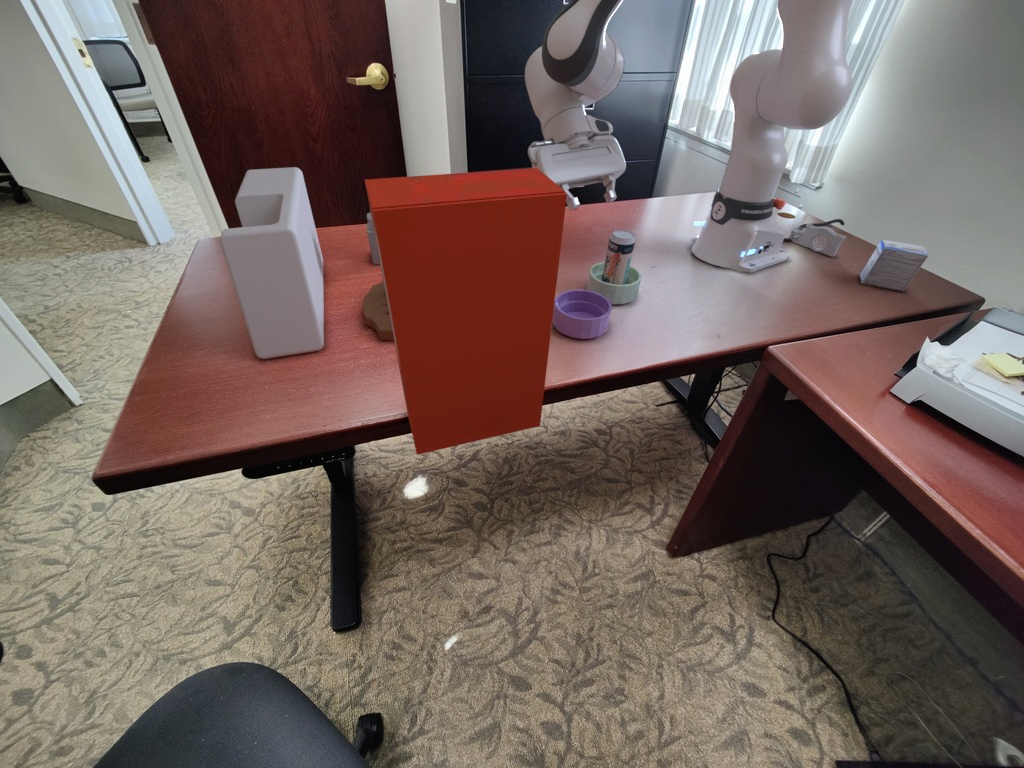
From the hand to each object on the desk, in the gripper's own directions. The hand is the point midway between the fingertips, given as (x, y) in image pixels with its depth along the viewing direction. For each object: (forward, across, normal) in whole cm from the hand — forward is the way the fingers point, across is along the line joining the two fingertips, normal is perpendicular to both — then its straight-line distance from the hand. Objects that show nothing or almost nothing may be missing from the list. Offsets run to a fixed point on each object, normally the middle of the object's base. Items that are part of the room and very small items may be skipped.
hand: (593, 204), depth 85 cm
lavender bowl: (+21, -13, 0) cm, 25 cm away
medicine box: (+36, +55, -15) cm, 68 cm away
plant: (+8, -37, +14) cm, 40 cm away
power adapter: (-10, -36, +31) cm, 48 cm away
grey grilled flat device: (+23, +60, -2) cm, 64 cm away
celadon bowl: (+17, 0, +4) cm, 18 cm away
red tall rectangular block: (+29, -42, -8) cm, 52 cm away
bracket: (-4, -55, +25) cm, 61 cm away
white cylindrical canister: (+17, 0, +4) cm, 17 cm away
